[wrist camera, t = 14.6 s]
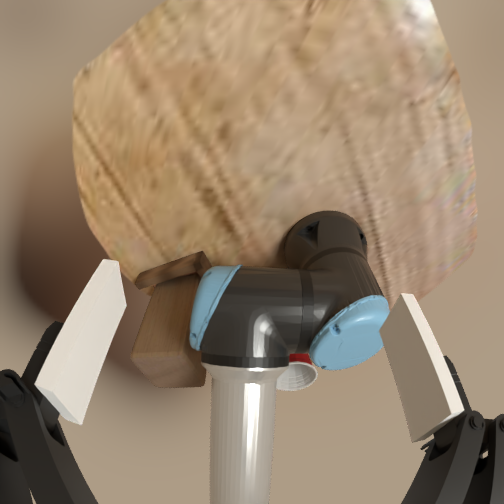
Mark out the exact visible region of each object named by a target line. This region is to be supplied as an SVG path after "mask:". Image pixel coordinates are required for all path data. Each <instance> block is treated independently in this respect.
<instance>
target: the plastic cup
mask: <svg viewBox="0 0 504 504" xmlns="http://www.w3.org/2000/svg"><path fill="white" fill-rule="evenodd" d="M317 374H318V372H317V370H316V369H315V368H314V366H313V365H312V363H311V361H310V358H309V355H308V354H290V355H289V368H288V369H287V370H286V371H285V372H284V373H283V374H281V375H280V376H279V378H278V379H277V386H276V389H279V390H284V391H293V390H300V389H302V388H306V387H307V386H309V385H311V384H312V383H314V381H315V380H316V378H317Z"/></svg>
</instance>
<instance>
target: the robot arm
mask: <svg viewBox="0 0 504 504" xmlns="http://www.w3.org/2000/svg"><path fill="white" fill-rule="evenodd" d="M284 252H285V259H286V264H287V266H288V268H268V267H248V266H242V265H237V266H214V267H211V268H210V269H208V270H207V271H206V272H205V273H204V275H203V277H202V279H201V281H200V283H199V286H198V288H197V292H196V295H195V299H194V303H193V308H192V313H191V320H190V337H189V340H190V345H191V347H192V348H193V349H196V350H197V351H202V353H201V364H202V365H203V367H204V368H205V369H206V370H207V371H208V372H209V373H210V374H211V376H212V390H211V392H212V393H211V424H210V425H211V427H210V504H269V495H270V482H271V469H272V454H273V440H274V424H275V406H276V386H277V379H278V378H279V376H280V375H281V374H283V373H284V372H285V371H286V370H287V369H288V368H289V355H290V354H309V355H310V358H311V360H312V361H313V363H314V364H315V365H316V366H318V367H321V368H322V369H325V370H341V369H346V368H349V367H352V366H355V365H358V364H360V363H362V362H364V361H366V360H367V359H368V358H370V357H371V356H373V355H375V354H376V353H377V352H378V351H379V350H380V349H381V348H382V347H383V346H384V348H385V350H386V353H387V357H388V359H389V363H390V366H391V369H392V372H393V375H394V378H395V381H396V385H397V388H398V392H399V395H400V399H401V402H402V406H403V409H404V413H405V417H406V421H407V425H408V428H409V432H410V436H411V441H412V443H413V442H417V441H421V440H425V439H426V438H428V437H429V436H431V435H432V434H434V439H432V440H431V441H429V442H428V443H427V444H425V445H423V446H422V448H421V450H423V449H425V448H426V447H428V446H429V447H428V449H426V450H425V452H426V454H425V457H424V459H423V461H422V463H421V466H420V468H419V470H418V472H417V474H416V476H415V478H414V480H413V482H412V485H411V486H410V488H409V490H408V492H407V494H406V496H405V498H404V500H403V501H402V503H401V504H504V414H500V415H499V416H497V417H496V418H495V419H494V420H492V419H484V418H483V416H482V415H481V414H480V413H479V412H477V411H472V410H471V407H470V405H469V402H468V400H467V397H466V394H465V392H464V389H463V387H462V384H461V382H460V379H459V377H458V375H457V372H456V370H455V367H454V365H453V363H452V362H451V361H450V359H449V358H448V357H447V356H443V355H442V353H441V350H440V348H439V346H438V344H437V342H436V340H435V337H434V335H433V333H432V331H431V329H430V327H429V325H428V323H427V321H426V319H425V317H424V315H423V313H422V311H421V309H420V307H419V305H418V303H417V301H416V299H415V297H414V295H413V294H404V293H401V294H400V296H399V298H398V300H397V301H396V303H395V305H394V307H393V308H392V310H391V312H390V311H389V308H388V302H387V300H386V298H385V297H384V295H383V293H382V291H381V289H380V287H379V285H378V283H377V281H376V279H375V276H374V274H373V272H372V270H371V268H370V266H369V264H368V262H367V241H366V237H365V235H364V233H363V231H362V229H361V227H360V226H359V224H358V223H357V222H356V221H355V220H354V219H353V218H352V217H350V216H349V215H347V214H344V213H341V212H337V211H321V212H317V213H313V214H311V215H309V216H307V217H305V218H303V219H302V220H300V221H299V222H298V223H297V224H296V225H295V226H294V227H293V228H292V229H291V231H290V232H289V234H288V236H287V238H286V242H285V247H284ZM126 306H127V305H126V301H125V295H124V290H123V285H122V280H121V274H120V268H119V262H118V261H113V260H106V259H103V260H102V262H101V264H100V265H99V267H98V268H97V270H96V271H95V273H94V274H93V276H92V278H91V279H90V281H89V282H88V284H87V286H86V287H85V289H84V291H83V292H82V294H81V296H80V297H79V299H78V301H77V302H76V304H75V306H74V307H73V309H72V311H71V313H70V315H69V316H68V318H67V320H66V322H65V324H64V323H60V322H57V321H55V322H54V323H53V324H52V325H50V326H49V327H48V328H47V329H46V331H45V333H44V334H43V336H42V338H41V341H40V342H39V343H38V346H37V347H36V348H37V349H36V350H35V351H34V353H33V355H32V357H31V359H30V361H29V363H28V365H27V367H26V369H25V371H24V373H23V375H22V377H21V378H20V376H19V375H18V374H17V373H16V372H14V371H13V370H10V369H6V370H2V371H0V504H33V502H32V497H31V493H30V490H31V492H32V495H33V497H34V499H35V501H36V504H98V502H97V501H96V499H95V497H94V495H93V494H92V492H91V490H90V488H89V486H88V485H87V483H86V481H85V479H84V477H83V475H82V473H81V471H80V469H79V467H78V465H77V463H76V461H75V459H74V456H73V454H72V452H71V450H70V448H69V445H68V443H67V440H66V438H65V436H64V433H63V431H62V428H61V425H60V423H59V421H58V417H59V414H61V415H62V416H63V417H64V418H65V419H66V420H69V421H72V422H74V423H77V424H80V425H82V423H83V419H84V416H85V413H86V410H87V407H88V404H89V401H90V398H91V395H92V392H93V389H94V386H95V384H96V381H97V378H98V375H99V373H100V370H101V367H102V365H103V361H104V359H105V357H106V354H107V352H108V349H109V346H110V344H111V341H112V339H113V337H114V334H115V331H116V329H117V327H118V324H119V322H120V319H121V317H122V315H123V313H124V310H125V308H126ZM486 451H488V456H487V457H485V458H483V456H482V455H483V453H485V452H486Z"/></svg>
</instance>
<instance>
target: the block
mask: <svg viewBox="0 0 504 504" xmlns="http://www.w3.org/2000/svg"><path fill="white" fill-rule="evenodd" d="M200 281H201V277H200V276H199V274H191V275H186V276H180V277H176V278H173V279H170V280H167V281H164V282H161V283H158V284H156V286H155V289H154V292H153V294H152V297H151V299H150V302H149V305H148V307H147V310H146V313H145V315H144V318H143V321H142V324H141V326H140V329H139V332H138V335H137V338H136V341H135V343H134V346H133V349H132V353H131V360H132V361H133V363H134V364H135V365H136V366H137V367H138V368H139V369H140V370H141V372H142V373H143V374H144V375H145V376H146V377H147V378H148V379H149V380H150V381H151V383H152V384H153V385H154V386H156V387H159V388H179V387H201V386H204V384H205V378H206V369H205V368H204V367H203V365H202V364H201V353H202V351H197V350H196V349H193V348H192V347H191V345H190V340H189V337H190V320H191V313H192V308H193V303H194V299H195V295H196V292H197V288H198V286H199V283H200Z"/></svg>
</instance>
